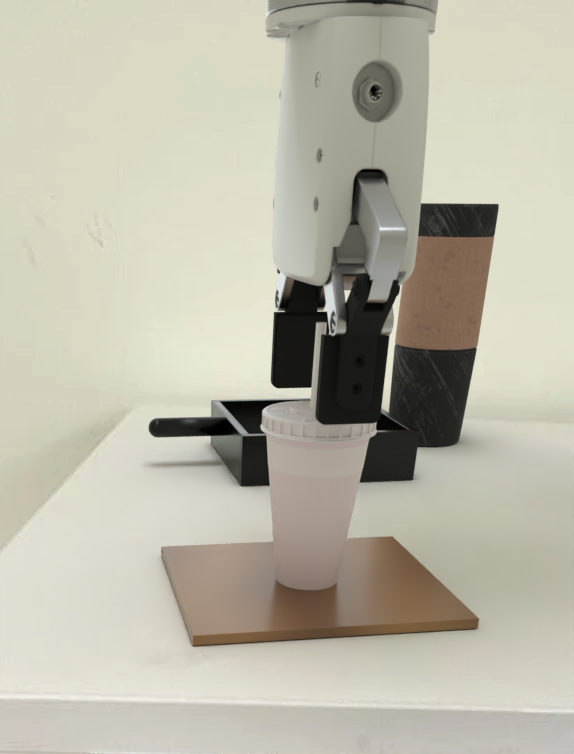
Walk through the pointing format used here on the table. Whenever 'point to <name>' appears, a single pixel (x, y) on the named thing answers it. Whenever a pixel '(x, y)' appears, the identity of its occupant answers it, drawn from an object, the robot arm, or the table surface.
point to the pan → (249, 443)
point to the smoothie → (311, 486)
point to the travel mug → (442, 319)
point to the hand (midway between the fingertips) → (320, 403)
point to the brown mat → (308, 594)
